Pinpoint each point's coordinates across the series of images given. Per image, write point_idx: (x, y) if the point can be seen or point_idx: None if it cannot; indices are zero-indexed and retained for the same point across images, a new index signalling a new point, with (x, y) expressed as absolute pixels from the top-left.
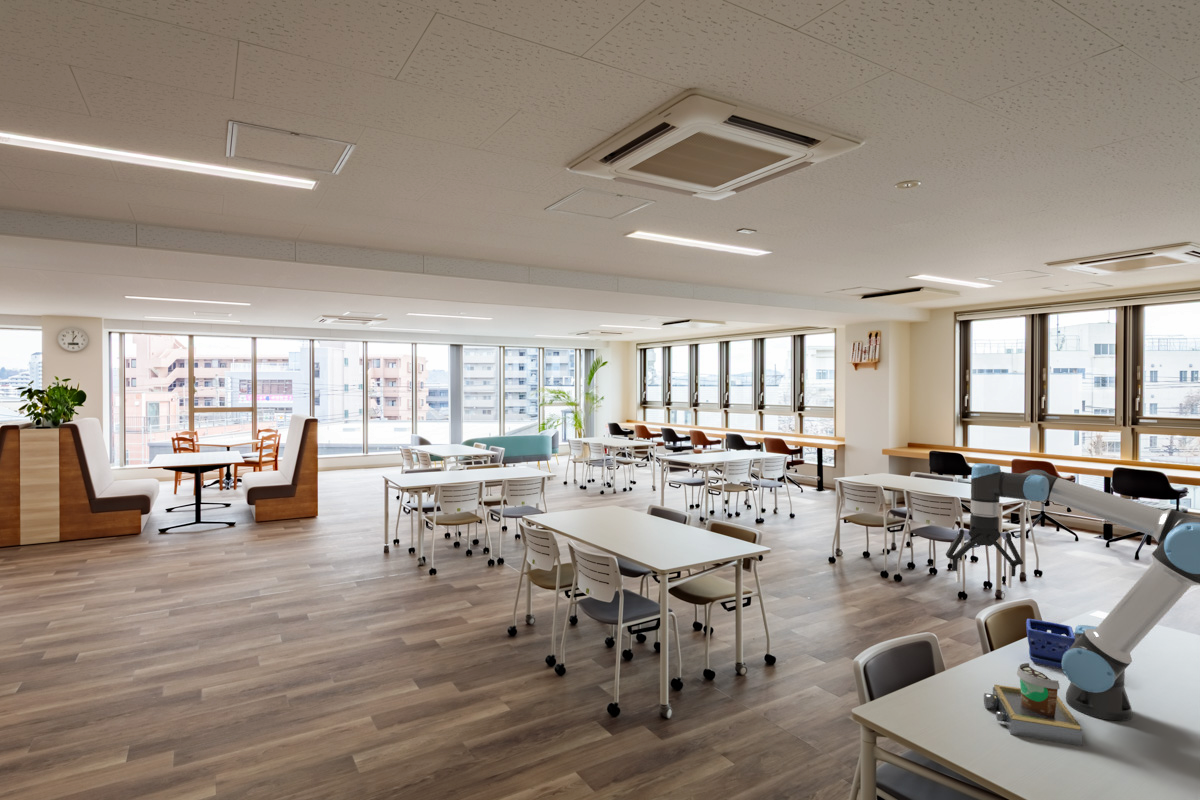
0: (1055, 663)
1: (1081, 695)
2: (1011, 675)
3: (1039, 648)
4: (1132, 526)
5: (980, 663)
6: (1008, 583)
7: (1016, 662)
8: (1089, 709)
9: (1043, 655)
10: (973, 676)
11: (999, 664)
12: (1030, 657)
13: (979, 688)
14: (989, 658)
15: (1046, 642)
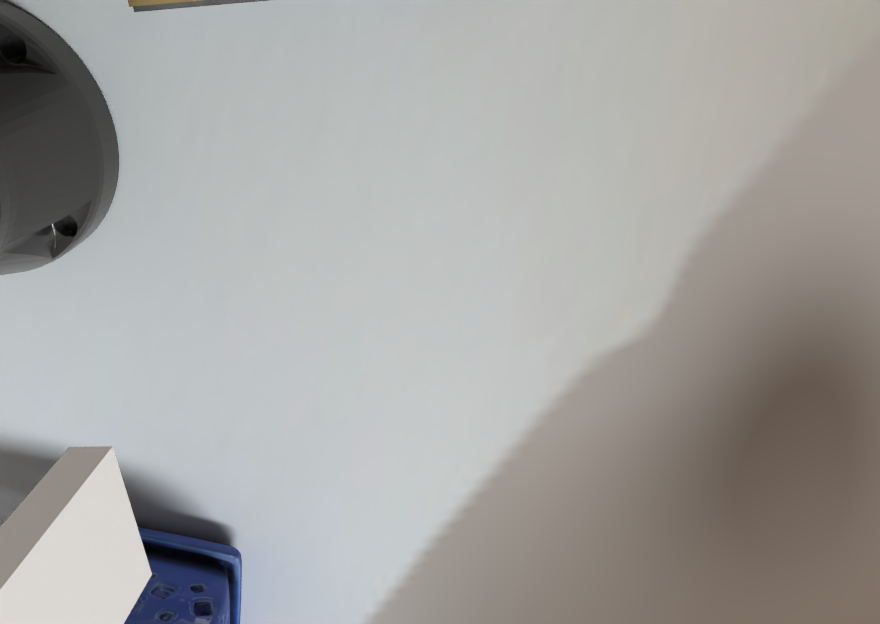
0: (140, 533)
1: (10, 71)
2: (341, 373)
3: (182, 587)
4: None
5: (469, 463)
6: (73, 499)
7: (304, 530)
8: (3, 13)
9: (178, 566)
10: (530, 286)
11: (382, 482)
12: (238, 557)
13: (524, 131)
14: (419, 534)
15: (136, 608)
